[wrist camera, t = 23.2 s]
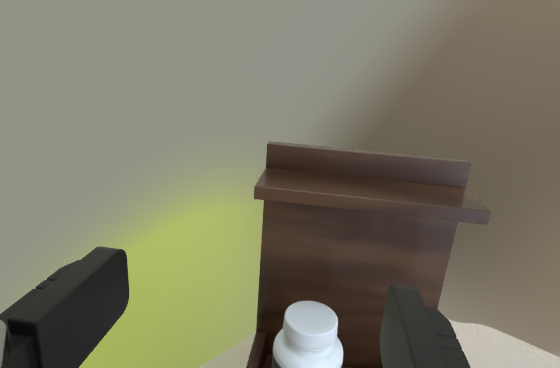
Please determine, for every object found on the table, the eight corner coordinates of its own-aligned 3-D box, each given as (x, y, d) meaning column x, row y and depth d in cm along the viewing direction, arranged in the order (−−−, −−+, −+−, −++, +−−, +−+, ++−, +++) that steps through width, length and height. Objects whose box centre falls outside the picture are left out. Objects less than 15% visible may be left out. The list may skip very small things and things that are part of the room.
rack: (430, 578, 29) (543, 215, 19) (224, 537, 31) (236, 182, 21) (403, 437, 40) (467, 159, 30) (252, 412, 41) (269, 141, 32)
